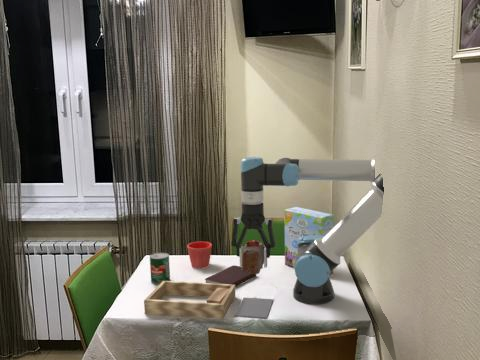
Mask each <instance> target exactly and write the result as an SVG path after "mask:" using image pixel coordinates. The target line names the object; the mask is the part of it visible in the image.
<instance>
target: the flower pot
mask: <svg viewBox="0 0 480 360" xmlns="http://www.w3.org/2000/svg"><path fill="white" fill-rule="evenodd" d="M212 247H213V245H212V243H211V242H209V241H194V242H190V243H188V244H187V252H188V256H189V260H190V264H191V267H192V268H194V269H205V268H208V267H209V266H210V261H211V254H212Z"/></svg>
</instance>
